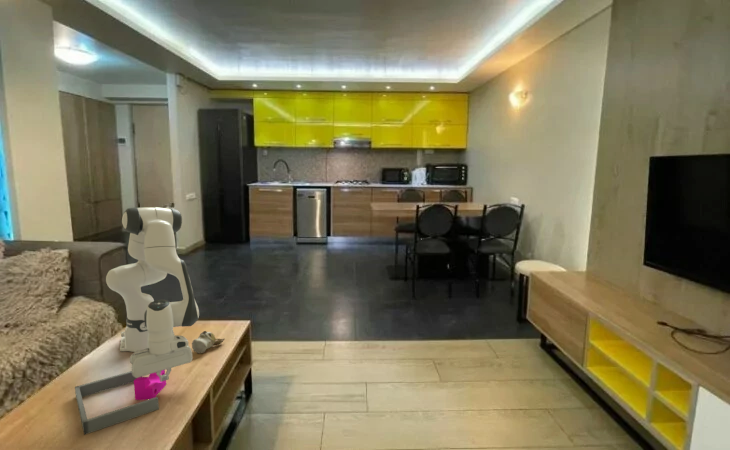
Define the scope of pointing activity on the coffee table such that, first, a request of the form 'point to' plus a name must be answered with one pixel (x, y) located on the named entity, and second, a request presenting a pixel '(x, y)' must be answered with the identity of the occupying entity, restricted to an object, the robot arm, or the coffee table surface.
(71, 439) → the coffee table surface
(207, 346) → the ceramic sculpture
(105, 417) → the box
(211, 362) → the coffee table surface
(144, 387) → the magenta curved bracket
